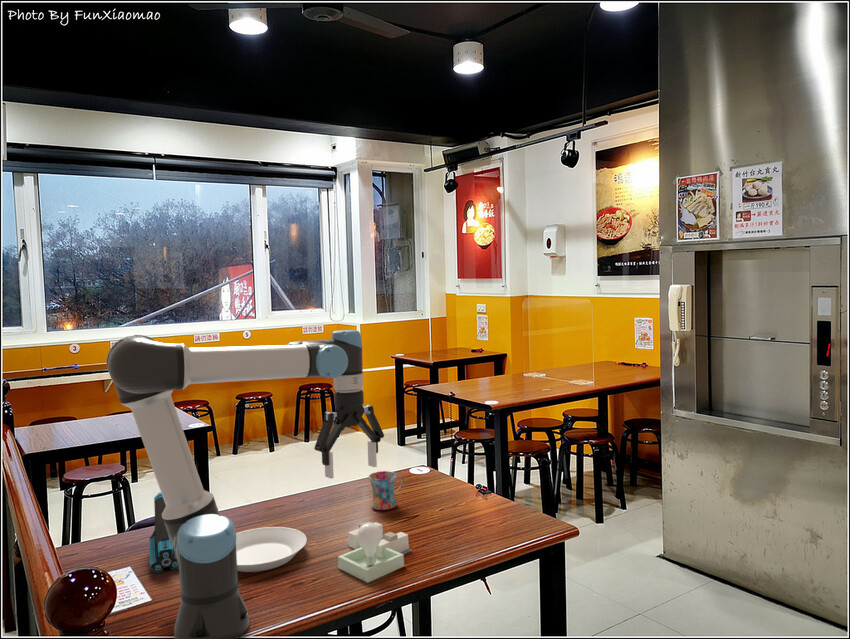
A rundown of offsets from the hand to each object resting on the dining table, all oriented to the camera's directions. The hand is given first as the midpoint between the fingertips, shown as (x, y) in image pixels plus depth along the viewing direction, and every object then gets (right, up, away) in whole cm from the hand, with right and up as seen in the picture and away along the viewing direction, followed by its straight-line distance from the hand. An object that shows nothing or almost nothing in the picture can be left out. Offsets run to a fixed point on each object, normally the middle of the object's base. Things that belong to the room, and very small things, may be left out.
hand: (351, 471), depth 163 cm
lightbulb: (+5, -24, -1) cm, 25 cm away
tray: (+5, -25, -1) cm, 25 cm away
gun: (-53, -27, +13) cm, 61 cm away
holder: (+6, -24, +11) cm, 27 cm away
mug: (+7, -22, +44) cm, 50 cm away
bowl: (-26, -26, +8) cm, 37 cm away
